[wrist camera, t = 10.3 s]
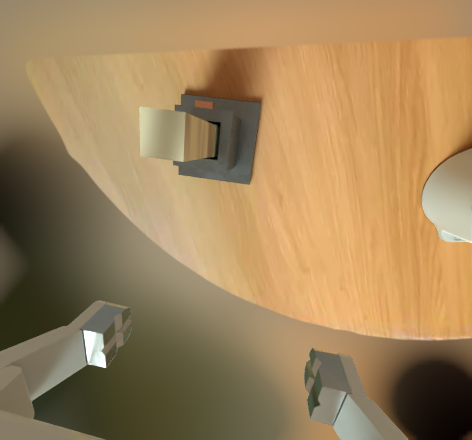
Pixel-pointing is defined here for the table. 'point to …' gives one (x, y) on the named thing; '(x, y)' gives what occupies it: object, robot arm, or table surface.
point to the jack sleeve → (224, 138)
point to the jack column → (176, 135)
